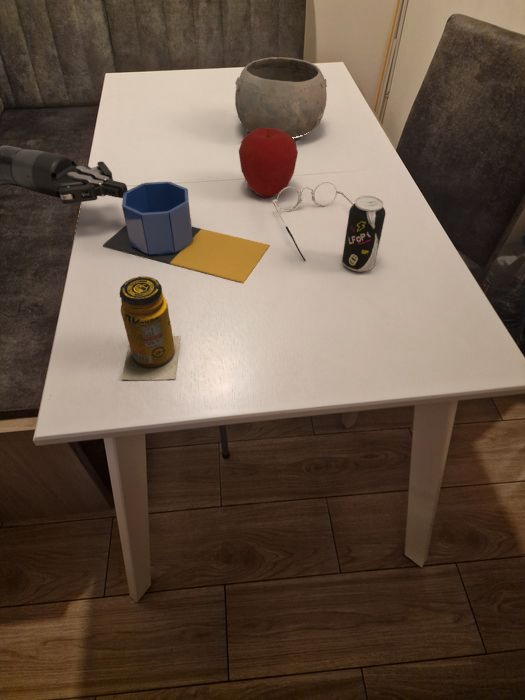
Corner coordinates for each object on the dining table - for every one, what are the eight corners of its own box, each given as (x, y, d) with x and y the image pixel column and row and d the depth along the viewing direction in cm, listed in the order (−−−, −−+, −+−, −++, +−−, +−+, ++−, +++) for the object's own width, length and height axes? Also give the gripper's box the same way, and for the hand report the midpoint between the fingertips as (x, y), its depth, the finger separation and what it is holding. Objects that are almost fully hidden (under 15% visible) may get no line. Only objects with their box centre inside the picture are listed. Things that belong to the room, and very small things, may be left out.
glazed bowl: (130, 258, 85) (120, 215, 79) (133, 225, 93) (124, 183, 87) (193, 254, 86) (189, 211, 80) (191, 221, 94) (187, 180, 88)
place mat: (102, 246, 88) (102, 245, 88) (138, 215, 96) (138, 213, 96) (243, 283, 81) (243, 281, 81) (269, 246, 89) (269, 244, 88)
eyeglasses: (340, 200, 101) (343, 177, 97) (380, 249, 88) (385, 225, 85) (266, 211, 97) (267, 188, 94) (297, 263, 85) (298, 239, 81)
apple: (306, 197, 102) (311, 132, 92) (258, 211, 97) (258, 145, 88) (275, 174, 109) (277, 112, 99) (230, 186, 104) (227, 123, 95)
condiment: (180, 336, 72) (170, 270, 63) (175, 380, 66) (163, 313, 57) (131, 337, 72) (114, 271, 63) (121, 381, 66) (101, 314, 57)
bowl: (273, 158, 114) (274, 90, 104) (217, 128, 127) (213, 64, 116) (341, 134, 125) (350, 69, 114) (284, 108, 137) (286, 48, 126)
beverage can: (379, 272, 83) (393, 209, 75) (347, 276, 82) (358, 213, 74) (367, 253, 87) (379, 191, 79) (337, 257, 86) (346, 195, 78)
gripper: (13, 168, 83) (97, 187, 78) (62, 139, 91) (141, 155, 87) (27, 208, 88) (108, 228, 84) (73, 177, 97) (148, 193, 92)
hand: (125, 191), depth 85 cm, fingers closed
